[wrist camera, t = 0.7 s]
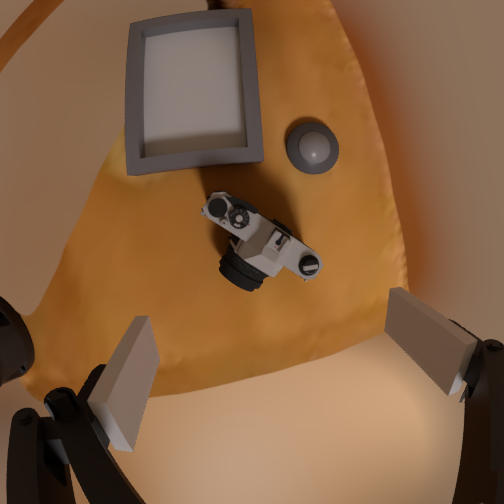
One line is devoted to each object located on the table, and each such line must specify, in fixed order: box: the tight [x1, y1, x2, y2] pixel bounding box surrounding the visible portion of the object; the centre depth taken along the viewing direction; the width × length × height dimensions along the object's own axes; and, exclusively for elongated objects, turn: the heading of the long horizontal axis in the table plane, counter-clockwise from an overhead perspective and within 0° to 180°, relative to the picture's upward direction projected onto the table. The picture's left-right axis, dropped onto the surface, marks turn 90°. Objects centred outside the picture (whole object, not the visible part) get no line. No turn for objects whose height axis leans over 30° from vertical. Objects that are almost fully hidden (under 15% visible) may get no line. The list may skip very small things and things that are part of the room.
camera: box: [200, 191, 323, 292], centre depth 28 cm, size 13×8×9 cm, turn 59°
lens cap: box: [286, 122, 339, 174], centre depth 30 cm, size 6×6×2 cm
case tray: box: [125, 9, 264, 176], centre depth 26 cm, size 14×19×3 cm
